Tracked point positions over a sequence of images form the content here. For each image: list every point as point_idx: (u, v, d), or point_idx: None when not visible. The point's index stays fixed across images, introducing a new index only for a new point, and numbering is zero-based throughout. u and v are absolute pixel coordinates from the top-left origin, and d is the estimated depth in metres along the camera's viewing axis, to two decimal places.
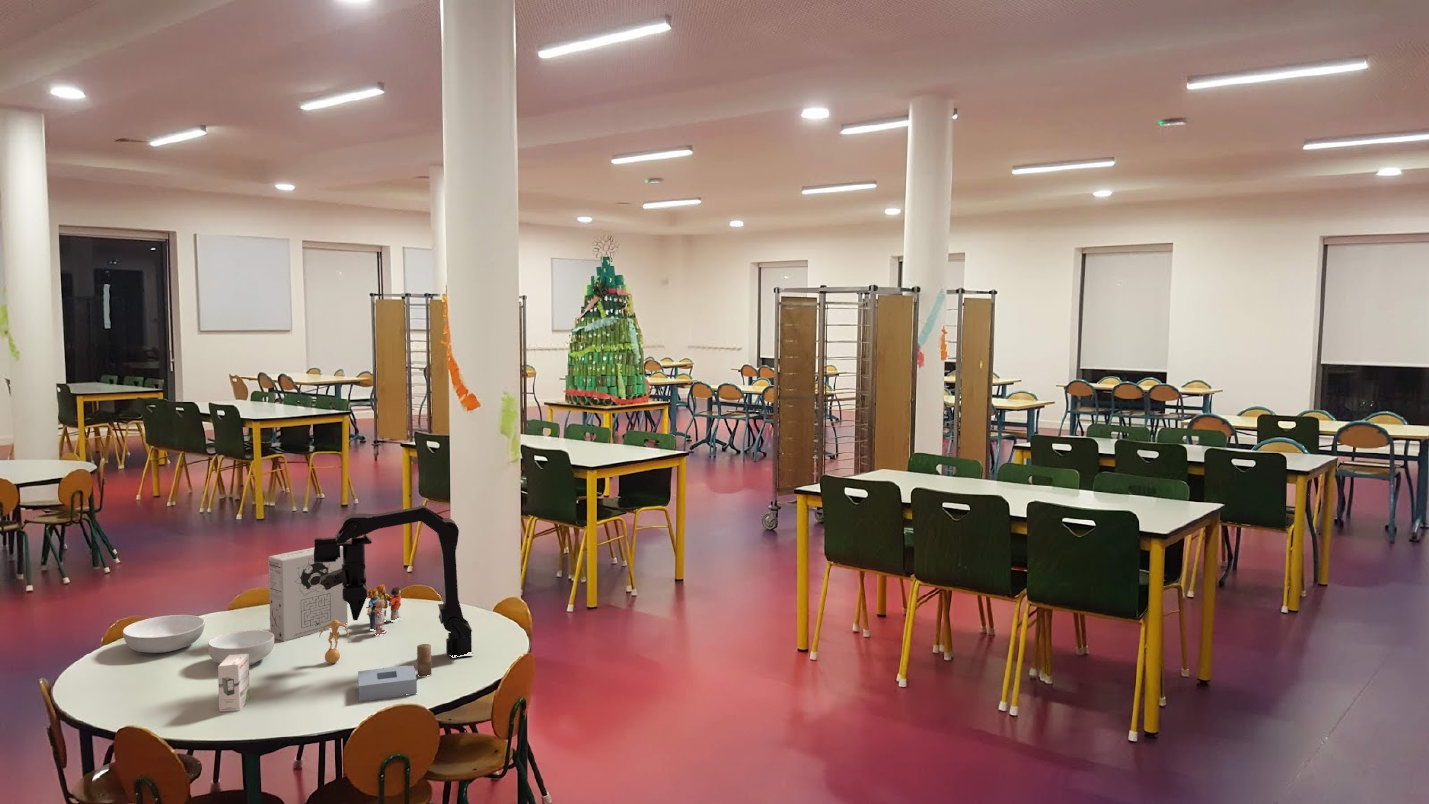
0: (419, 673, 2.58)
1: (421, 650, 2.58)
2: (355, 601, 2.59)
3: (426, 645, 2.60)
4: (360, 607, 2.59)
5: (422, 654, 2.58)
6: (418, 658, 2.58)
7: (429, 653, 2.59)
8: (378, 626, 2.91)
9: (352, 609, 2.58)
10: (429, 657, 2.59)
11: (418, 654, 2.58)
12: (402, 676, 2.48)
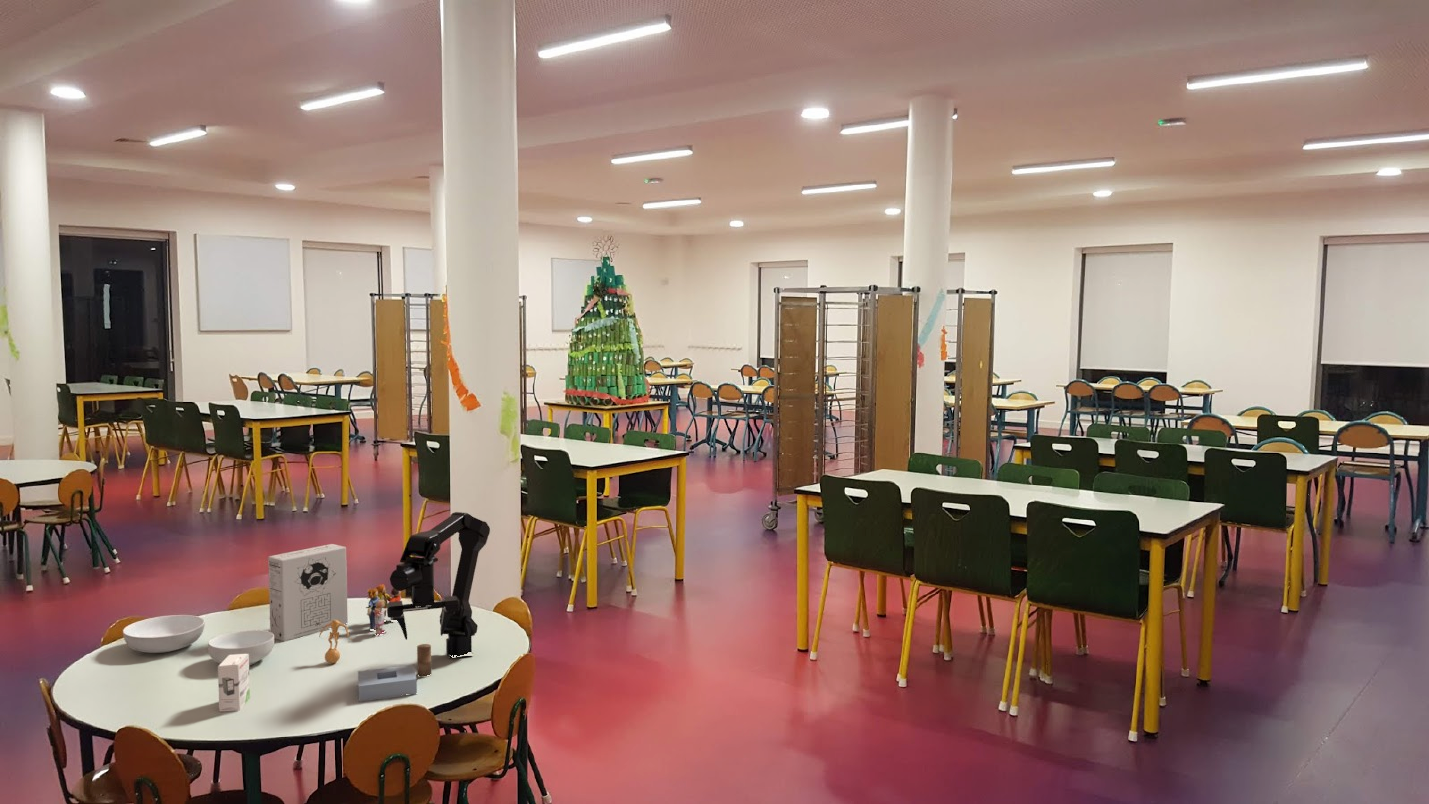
0: (419, 673, 2.58)
1: (421, 650, 2.58)
2: None
3: (426, 645, 2.60)
4: (401, 627, 2.55)
5: (422, 654, 2.58)
6: (418, 658, 2.58)
7: (429, 653, 2.59)
8: (378, 626, 2.91)
9: None
10: (429, 657, 2.59)
11: (418, 654, 2.58)
12: (402, 676, 2.48)
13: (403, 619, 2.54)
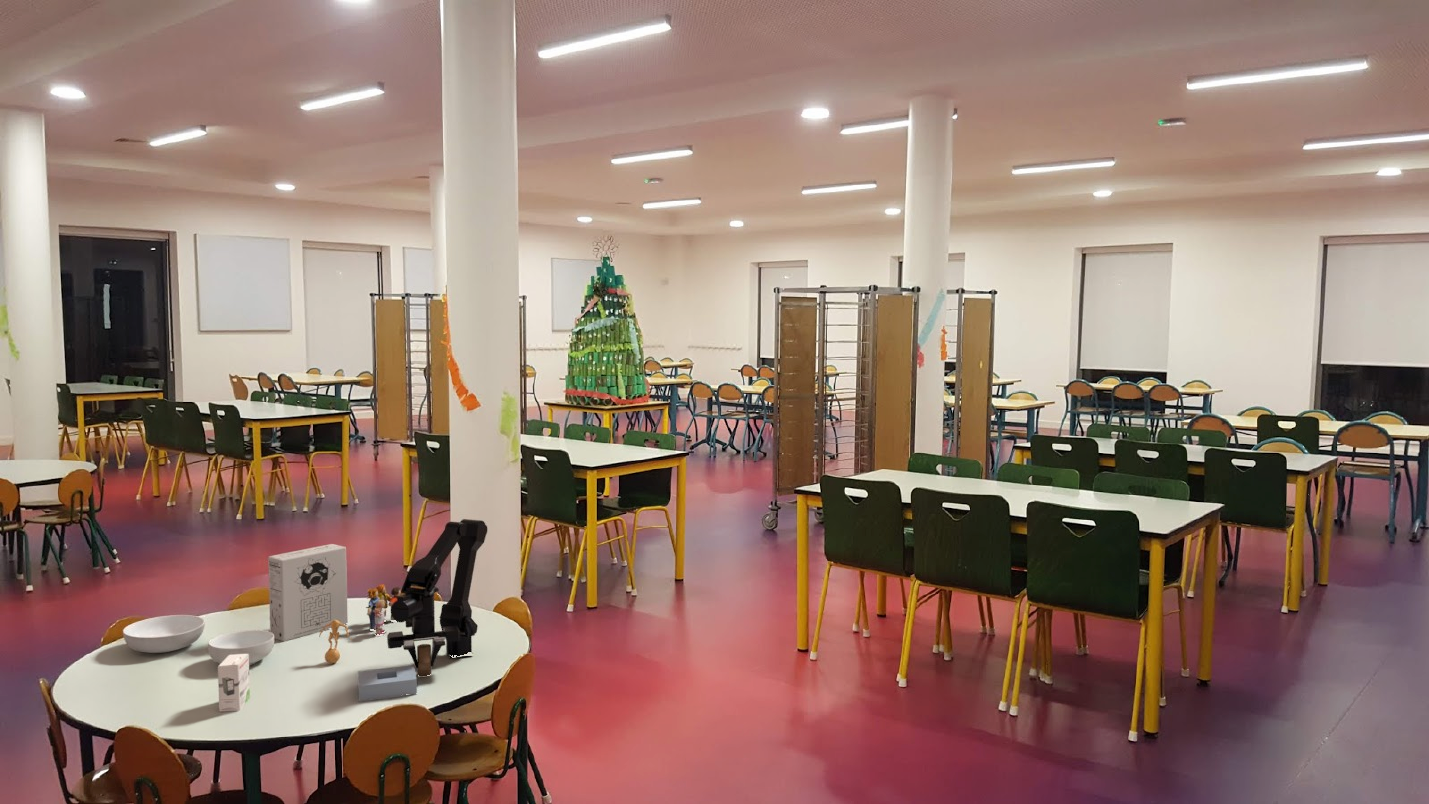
0: (419, 673, 2.58)
1: (421, 650, 2.58)
2: None
3: (426, 645, 2.60)
4: None
5: (422, 654, 2.58)
6: (418, 658, 2.58)
7: (429, 653, 2.59)
8: (378, 626, 2.91)
9: None
10: (429, 657, 2.59)
11: (418, 654, 2.58)
12: (402, 676, 2.48)
13: (414, 649, 2.56)
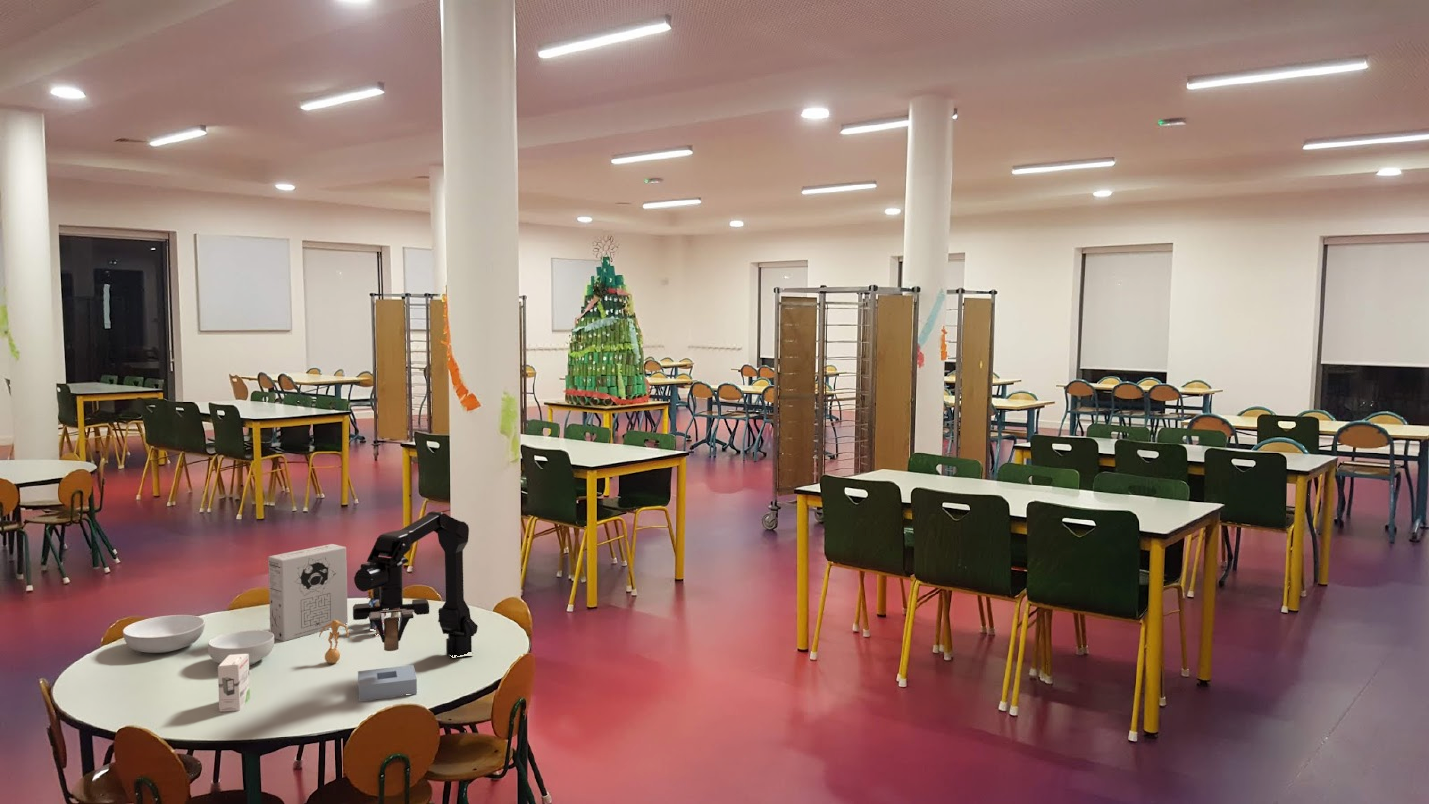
0: (386, 647, 2.48)
1: (388, 622, 2.47)
2: None
3: (394, 617, 2.50)
4: (378, 629, 2.46)
5: (389, 627, 2.47)
6: (385, 631, 2.48)
7: (396, 626, 2.48)
8: None
9: None
10: (396, 630, 2.48)
11: (385, 627, 2.47)
12: (402, 676, 2.48)
13: (380, 621, 2.45)
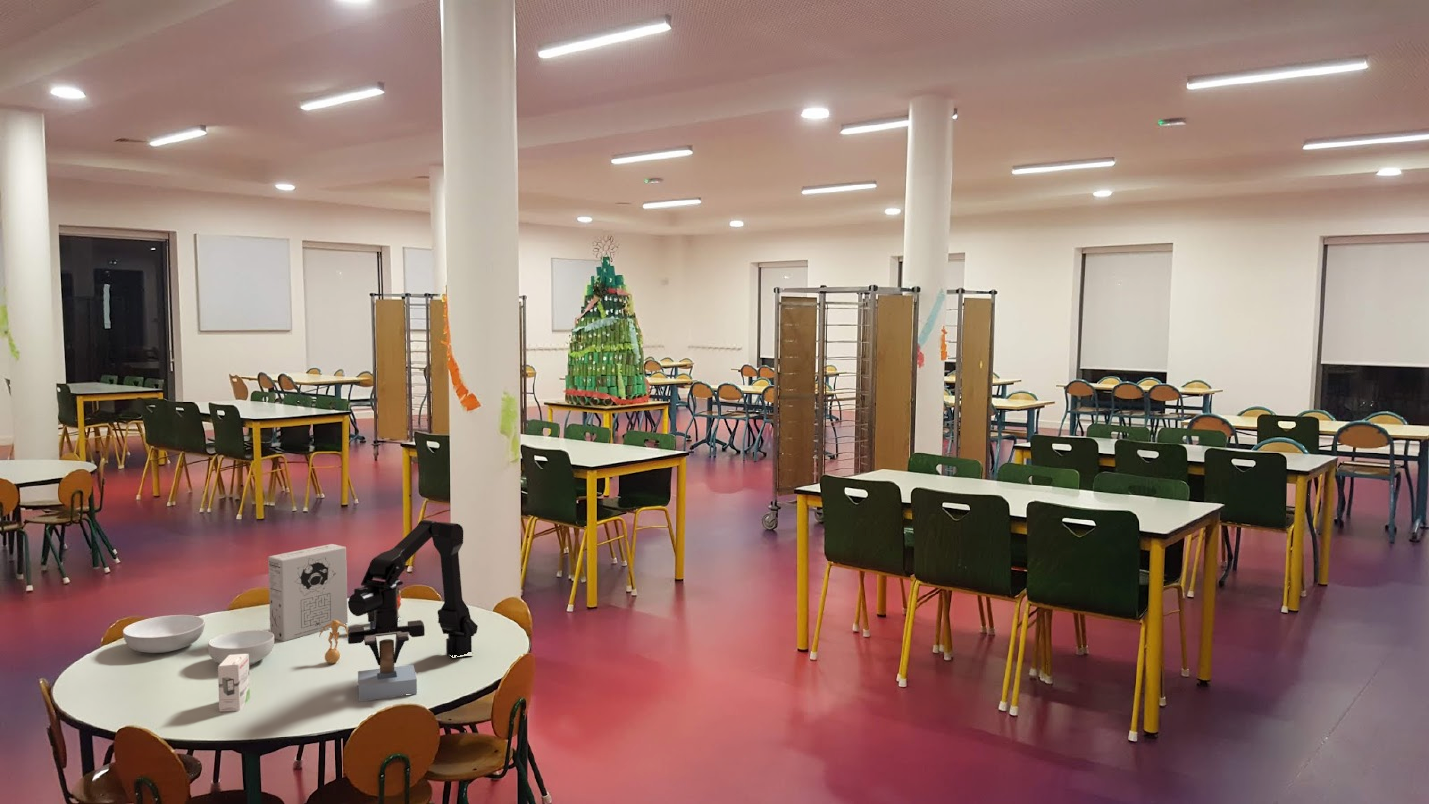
0: (381, 669, 2.47)
1: (383, 645, 2.46)
2: None
3: (389, 640, 2.49)
4: (373, 652, 2.46)
5: (385, 649, 2.46)
6: (380, 654, 2.47)
7: (392, 649, 2.47)
8: None
9: None
10: (392, 653, 2.47)
11: (380, 650, 2.47)
12: (402, 676, 2.48)
13: (375, 644, 2.44)
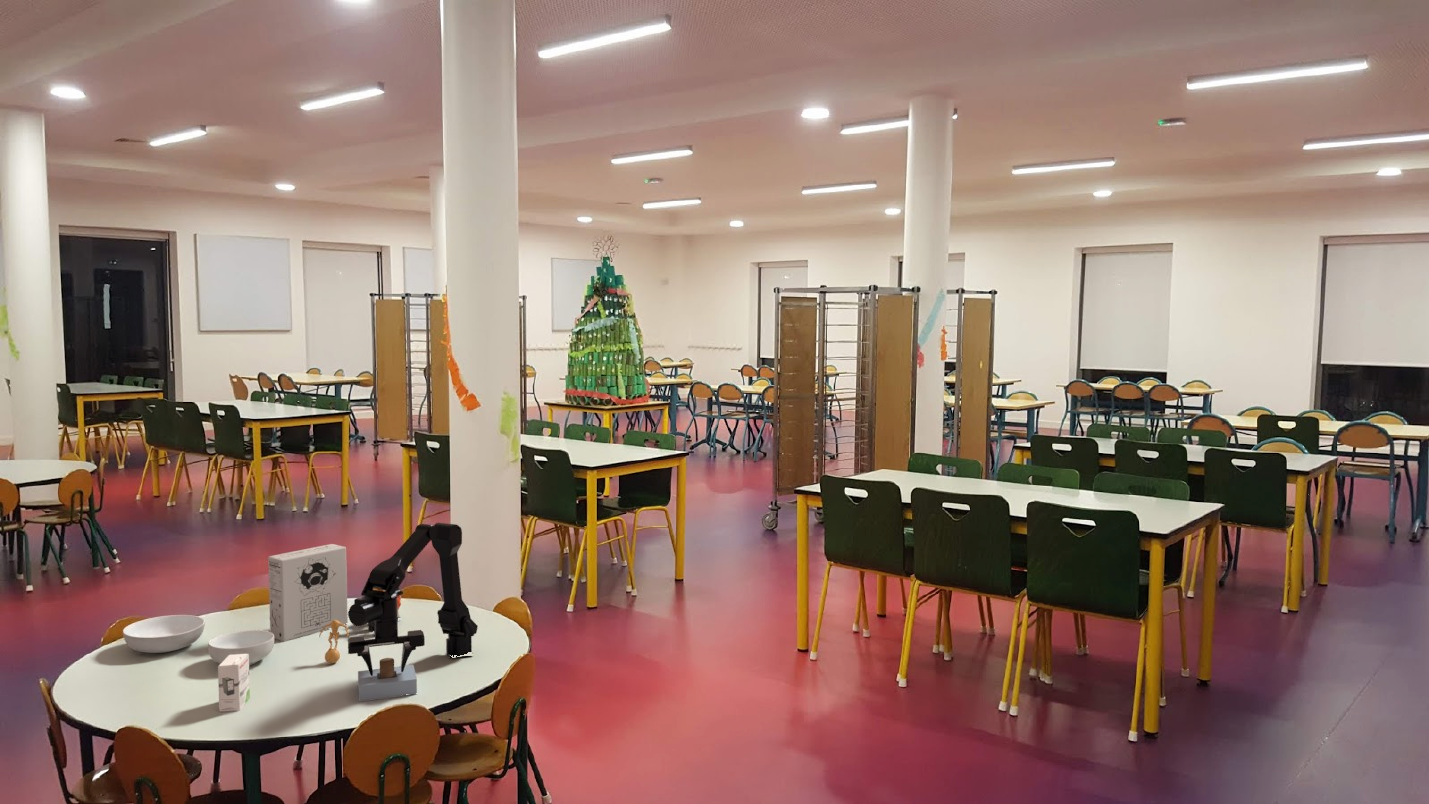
0: None
1: (383, 664, 2.46)
2: None
3: (390, 659, 2.49)
4: (366, 663, 2.45)
5: (385, 668, 2.46)
6: (380, 673, 2.47)
7: (392, 667, 2.48)
8: None
9: None
10: (392, 672, 2.48)
11: (380, 669, 2.47)
12: (402, 676, 2.48)
13: (368, 655, 2.44)
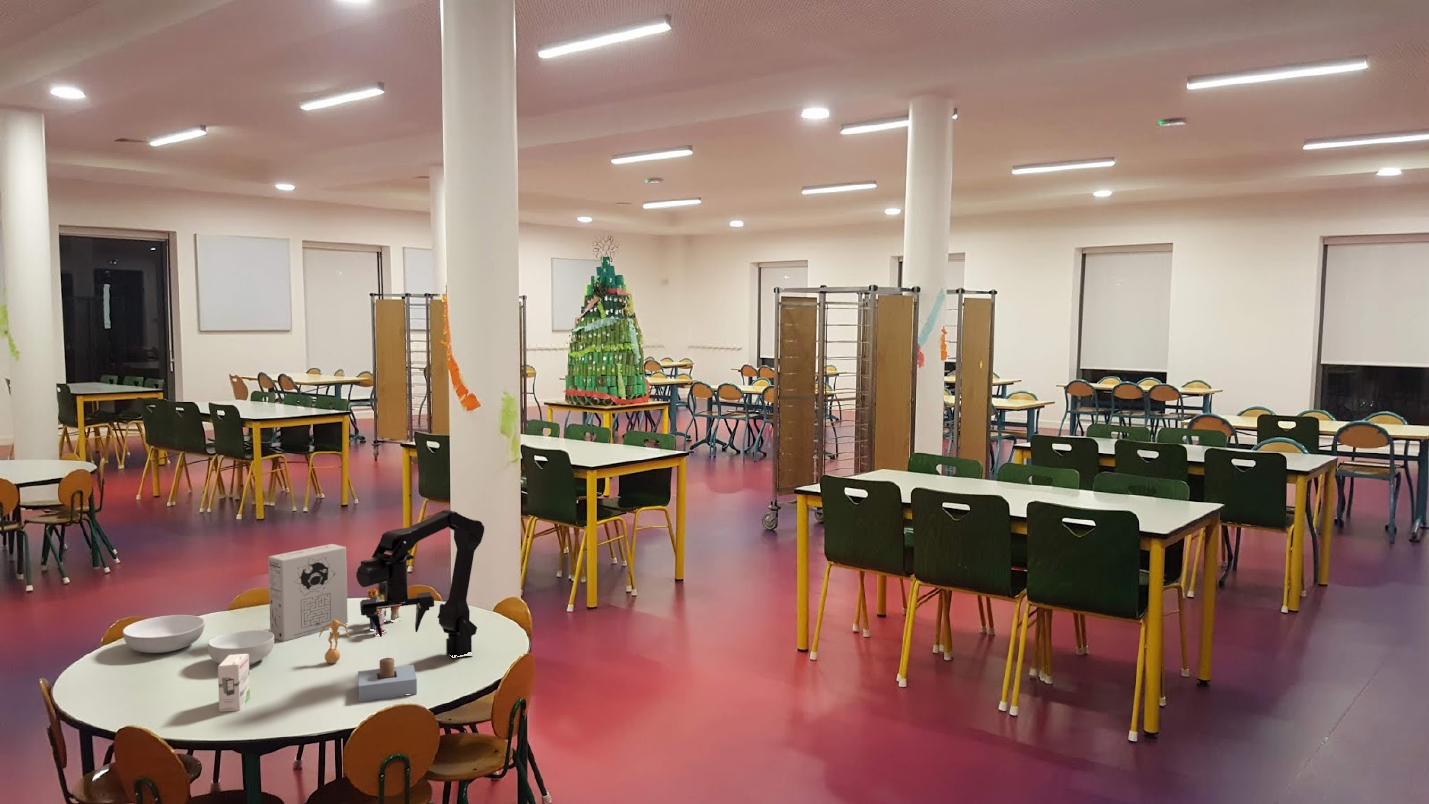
0: None
1: (383, 664, 2.46)
2: None
3: (390, 659, 2.49)
4: (375, 625, 2.54)
5: (385, 668, 2.46)
6: (380, 673, 2.47)
7: (392, 667, 2.48)
8: None
9: None
10: (392, 672, 2.48)
11: (380, 669, 2.47)
12: (402, 676, 2.48)
13: (377, 617, 2.53)
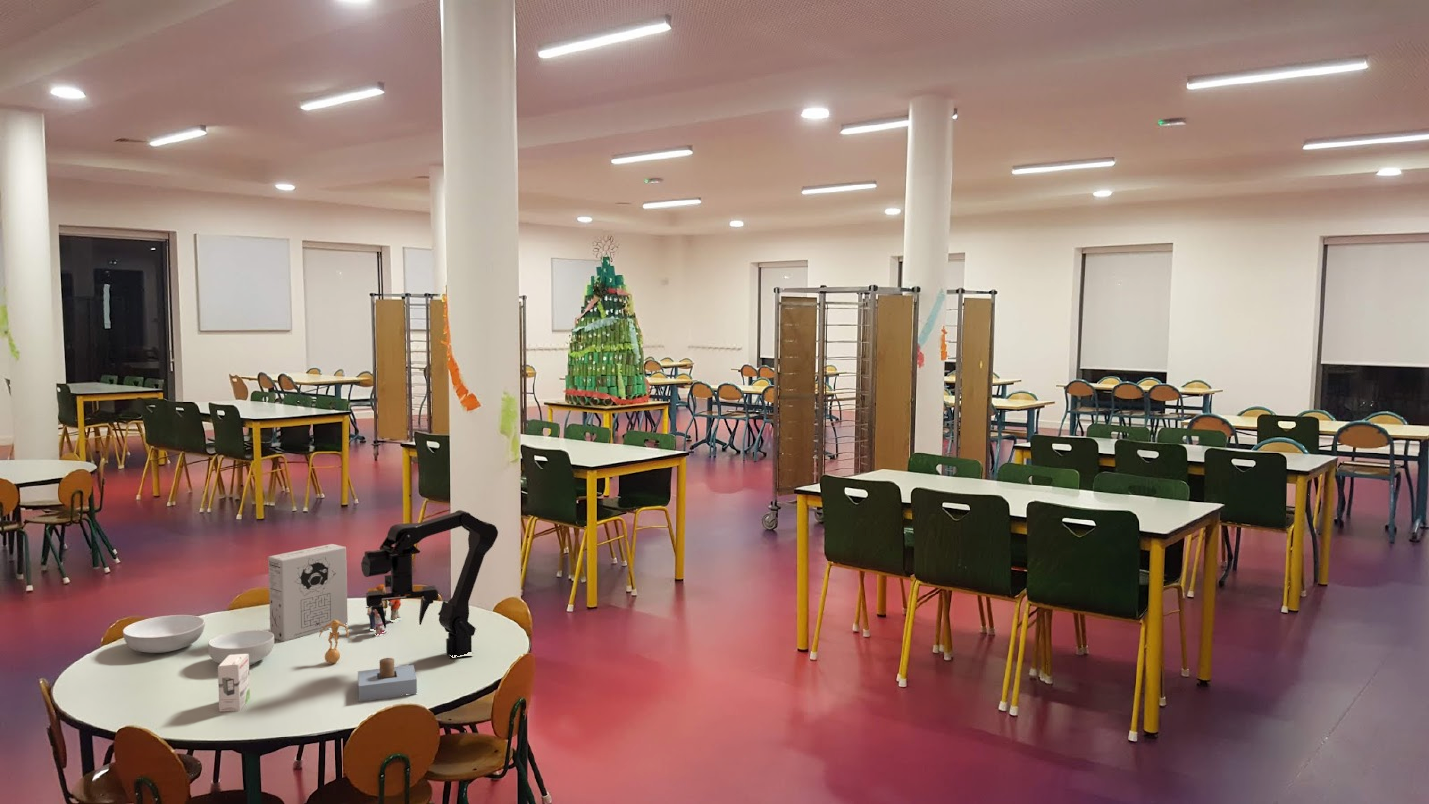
0: None
1: (383, 664, 2.46)
2: None
3: (390, 659, 2.49)
4: (380, 616, 2.60)
5: (385, 668, 2.46)
6: (380, 673, 2.47)
7: (392, 668, 2.48)
8: (378, 626, 2.91)
9: None
10: (392, 672, 2.48)
11: (380, 669, 2.47)
12: (402, 676, 2.48)
13: (382, 608, 2.58)
